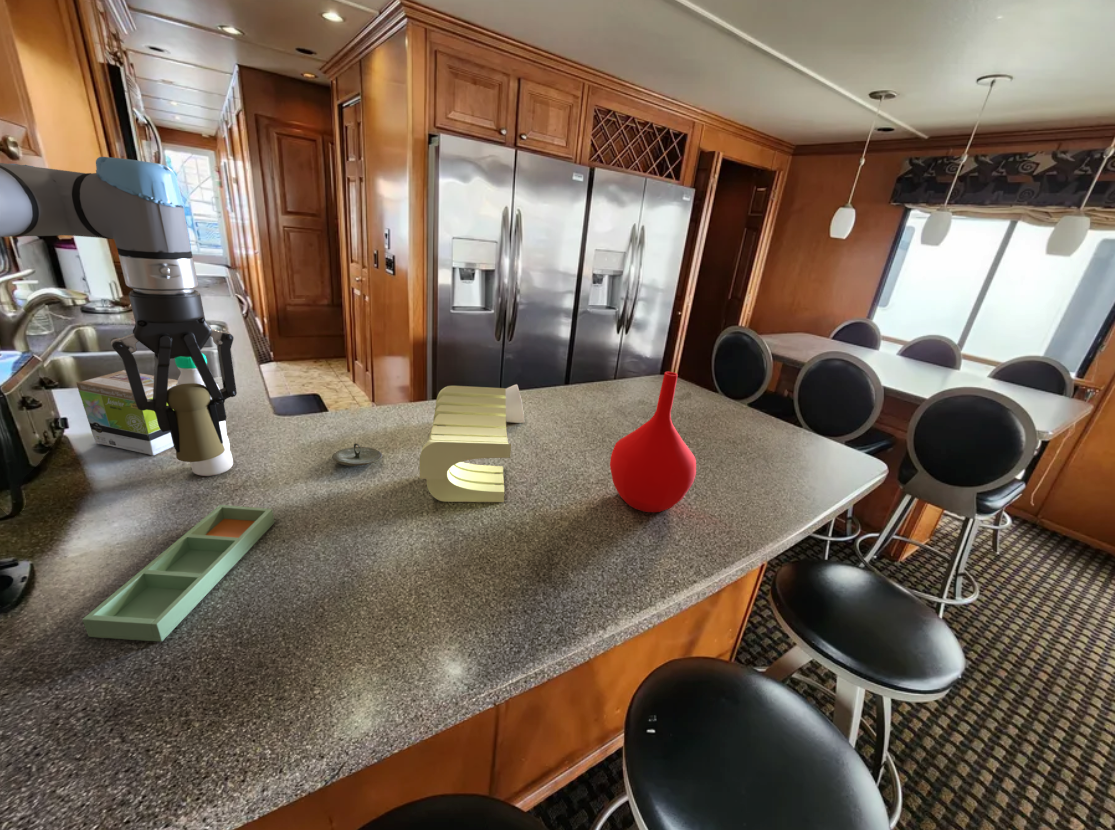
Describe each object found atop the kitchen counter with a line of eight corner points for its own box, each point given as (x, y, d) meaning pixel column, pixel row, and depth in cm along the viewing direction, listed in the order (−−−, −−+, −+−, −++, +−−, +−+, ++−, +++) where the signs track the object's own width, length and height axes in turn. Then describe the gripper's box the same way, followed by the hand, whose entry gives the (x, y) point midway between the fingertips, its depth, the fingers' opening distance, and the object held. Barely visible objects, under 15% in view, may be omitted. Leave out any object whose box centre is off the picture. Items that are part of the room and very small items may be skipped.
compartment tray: (88, 637, 58) (81, 619, 57) (223, 518, 82) (220, 504, 81) (161, 641, 59) (156, 624, 58) (274, 522, 83) (272, 508, 81)
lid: (332, 479, 100) (331, 463, 97) (332, 449, 107) (331, 433, 104) (384, 475, 104) (384, 459, 102) (380, 447, 112) (380, 431, 109)
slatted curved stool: (436, 452, 113) (436, 384, 106) (501, 454, 116) (505, 388, 109) (420, 526, 86) (419, 441, 79) (505, 526, 88) (511, 444, 82)
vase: (595, 509, 97) (616, 375, 86) (615, 472, 113) (635, 355, 102) (682, 534, 92) (716, 396, 81) (690, 491, 108) (719, 371, 97)
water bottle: (240, 468, 98) (219, 355, 88) (202, 481, 92) (175, 361, 83) (224, 457, 101) (202, 347, 92) (186, 469, 95) (158, 352, 86)
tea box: (93, 445, 100) (73, 381, 95) (139, 427, 109) (123, 368, 104) (153, 456, 98) (136, 392, 93) (194, 438, 108) (182, 378, 102)
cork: (229, 454, 71) (216, 388, 67) (180, 466, 67) (163, 395, 63) (219, 440, 75) (206, 376, 71) (172, 450, 71) (155, 383, 66)
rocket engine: (453, 389, 128) (516, 378, 130) (458, 402, 139) (516, 392, 141) (460, 428, 125) (524, 416, 127) (464, 438, 136) (524, 427, 138)
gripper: (74, 295, 53) (126, 470, 62) (247, 292, 65) (269, 439, 74) (71, 285, 58) (120, 449, 67) (233, 284, 70) (256, 423, 79)
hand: (198, 444), depth 70 cm, fingers closed on cork, 4 cm apart
